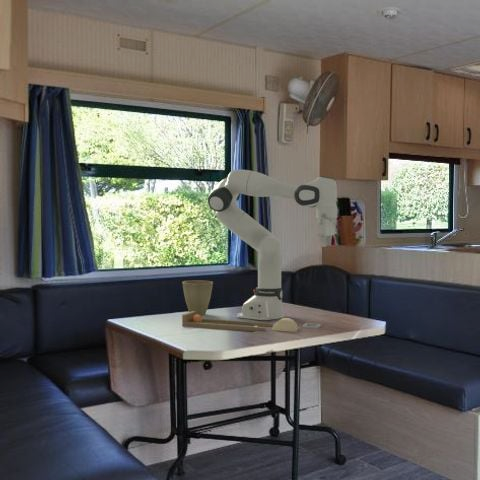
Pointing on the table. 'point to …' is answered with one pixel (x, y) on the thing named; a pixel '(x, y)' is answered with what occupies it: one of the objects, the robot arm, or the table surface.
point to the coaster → (311, 325)
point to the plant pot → (197, 295)
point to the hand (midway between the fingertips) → (326, 246)
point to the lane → (238, 324)
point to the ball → (197, 319)
